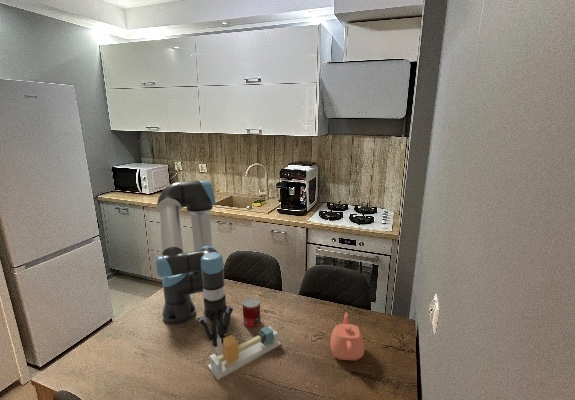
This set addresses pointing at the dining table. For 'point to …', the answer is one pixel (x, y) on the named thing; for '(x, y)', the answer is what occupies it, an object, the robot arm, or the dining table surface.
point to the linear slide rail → (245, 352)
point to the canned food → (251, 312)
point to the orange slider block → (230, 349)
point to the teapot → (347, 341)
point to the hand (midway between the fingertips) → (218, 351)
